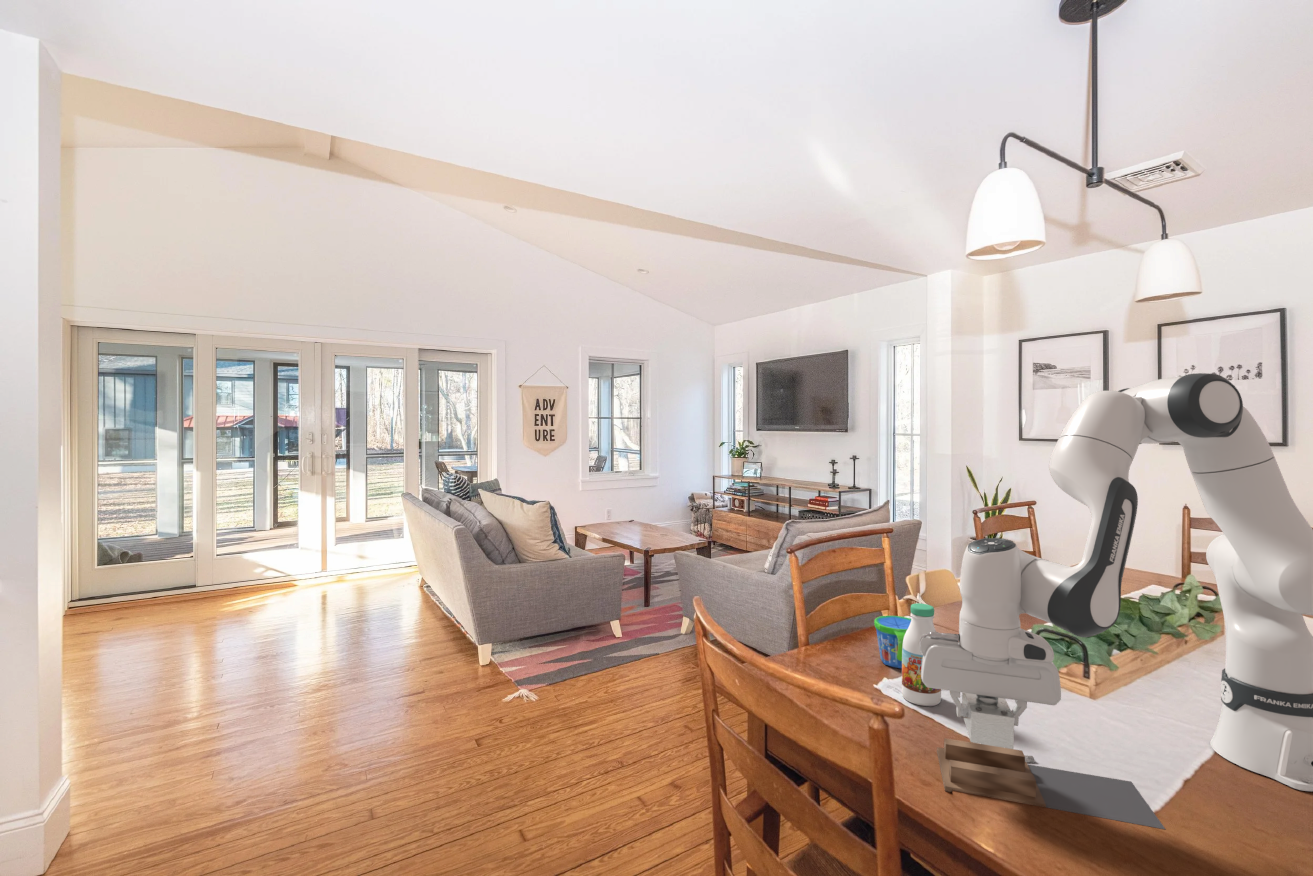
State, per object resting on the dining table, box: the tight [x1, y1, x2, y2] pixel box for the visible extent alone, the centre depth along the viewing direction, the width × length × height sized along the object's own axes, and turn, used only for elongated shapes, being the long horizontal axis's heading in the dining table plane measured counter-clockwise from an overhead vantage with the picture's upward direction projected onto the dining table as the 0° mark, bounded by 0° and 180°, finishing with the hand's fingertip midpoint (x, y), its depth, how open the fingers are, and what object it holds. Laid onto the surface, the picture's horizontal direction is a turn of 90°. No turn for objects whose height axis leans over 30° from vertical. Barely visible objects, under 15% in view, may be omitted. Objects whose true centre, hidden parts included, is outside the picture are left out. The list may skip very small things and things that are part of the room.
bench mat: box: [1027, 763, 1166, 830], centre depth 95 cm, size 16×12×1 cm
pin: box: [1024, 754, 1036, 764], centre depth 105 cm, size 4×1×1 cm
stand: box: [936, 737, 1046, 808], centre depth 100 cm, size 14×12×3 cm
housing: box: [961, 692, 1015, 749], centre depth 100 cm, size 10×6×6 cm, turn 160°
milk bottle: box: [901, 602, 942, 707], centre depth 128 cm, size 8×8×20 cm
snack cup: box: [873, 615, 912, 669], centre depth 146 cm, size 16×10×10 cm
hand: (986, 720), depth 100 cm, fingers closed on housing, 6 cm apart
